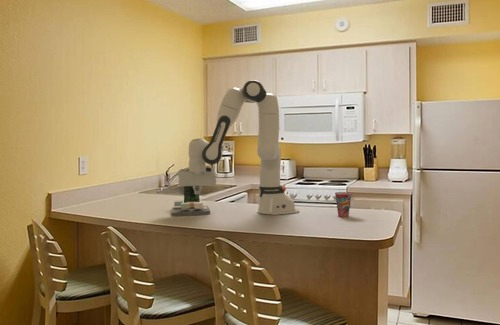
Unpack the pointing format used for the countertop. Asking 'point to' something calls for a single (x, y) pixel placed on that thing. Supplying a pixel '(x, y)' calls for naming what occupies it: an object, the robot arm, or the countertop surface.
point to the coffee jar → (191, 194)
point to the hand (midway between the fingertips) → (197, 194)
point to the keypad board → (190, 211)
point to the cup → (343, 203)
